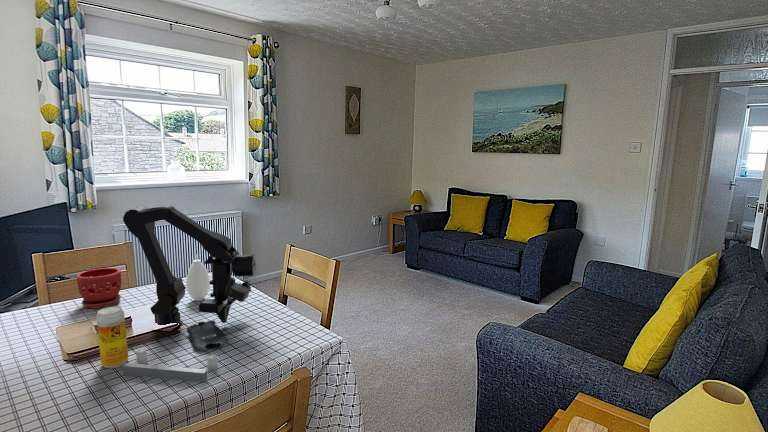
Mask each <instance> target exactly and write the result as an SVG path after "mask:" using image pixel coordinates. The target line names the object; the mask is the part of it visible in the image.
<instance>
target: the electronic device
mask: <svg viewBox="0 0 768 432" xmlns="http://www.w3.org/2000/svg"><path fill="white" fill-rule="evenodd" d="M216 323H217V322H216V321H215V320H213V319H212V320H209V321H206V322H205V321H198V322H197V323H193V324H192V325H189V326H187V327H186V332H187V333H188V336H189V338H190V339H191V342H192V347H194V349H195V350H198V351H199V352H202V351H203V352H212V351H214V350H217V349H220V348H221V347H223V346H224V345H225V344H226V343H227V335H226V333H225V332H224V331H223V330H222V329H221V328H220V327H219V326H217V325H216ZM218 344H220V346H218V347H216V348H213V347H215V346H216V345H218ZM208 348H213V349H208Z"/></svg>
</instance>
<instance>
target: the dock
mask: <svg viewBox="0 0 768 432" xmlns="http://www.w3.org/2000/svg"><path fill="white" fill-rule="evenodd" d="M135 358H136V363H132V362H126V363H125V364H123V365H121V371H122V376H128V377H129V376H133V377H141V378H154V379H161V380H162V379H163V380H165V379H166V380H171V381H172V380H173V381H183V382H184V381H185V382H193V383H196V382H197V383H206V382H207V381H208V376H209V375H208V373H215V372H217V371H218V370H219V367H218V355H216V354H211V355H208V356H207V358H206V360H207V369H203V368H202V369H201V368H200V369H198V368H189V367H188V368H187V367H178V366H167V365H155V364H154V365H153V364H148V353H147V349H145V348H141V349H138V350H136V351H135Z"/></svg>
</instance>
